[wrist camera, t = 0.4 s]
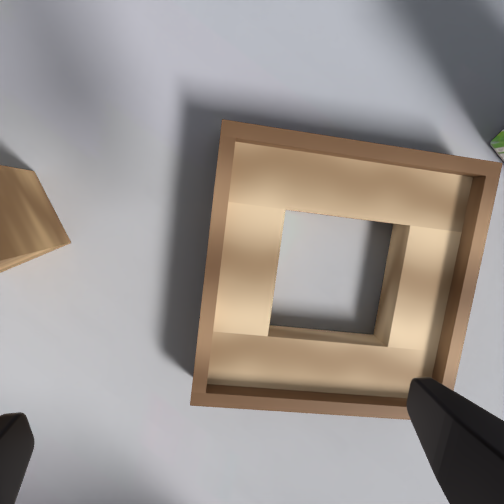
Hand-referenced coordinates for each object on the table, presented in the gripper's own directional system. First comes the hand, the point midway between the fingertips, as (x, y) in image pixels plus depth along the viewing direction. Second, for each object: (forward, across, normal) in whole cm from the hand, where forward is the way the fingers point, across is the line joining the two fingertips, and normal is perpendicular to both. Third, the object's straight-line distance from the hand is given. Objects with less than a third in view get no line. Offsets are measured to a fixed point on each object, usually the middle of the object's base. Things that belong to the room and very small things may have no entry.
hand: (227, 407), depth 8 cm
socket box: (+13, -7, +3) cm, 15 cm away
